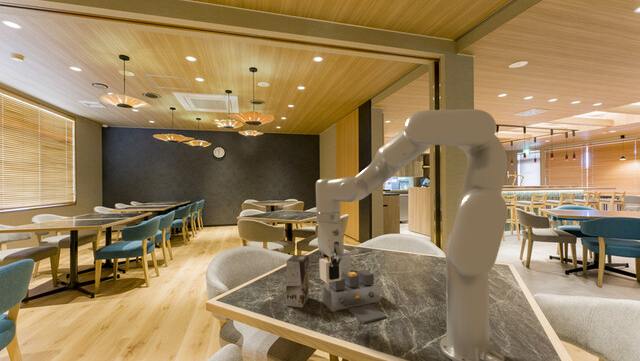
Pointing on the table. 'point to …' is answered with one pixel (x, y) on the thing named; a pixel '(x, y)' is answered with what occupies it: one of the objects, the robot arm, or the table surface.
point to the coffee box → (297, 280)
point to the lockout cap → (327, 270)
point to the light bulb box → (345, 261)
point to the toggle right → (365, 277)
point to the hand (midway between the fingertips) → (330, 275)
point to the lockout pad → (367, 313)
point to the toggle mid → (351, 278)
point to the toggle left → (338, 284)
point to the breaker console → (350, 296)
